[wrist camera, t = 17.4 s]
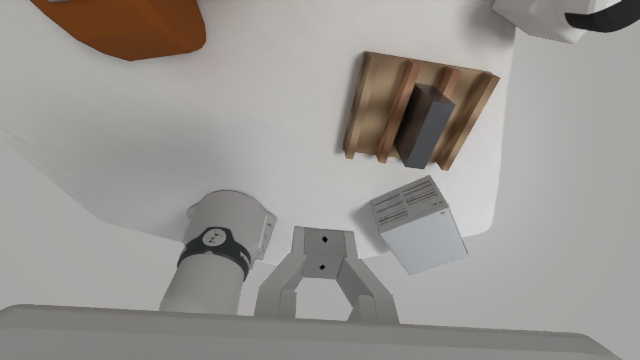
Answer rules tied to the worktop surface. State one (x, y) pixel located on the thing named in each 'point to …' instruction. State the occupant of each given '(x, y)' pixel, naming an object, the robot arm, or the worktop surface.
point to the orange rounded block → (130, 25)
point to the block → (422, 125)
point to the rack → (392, 98)
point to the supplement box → (418, 226)
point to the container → (568, 16)
